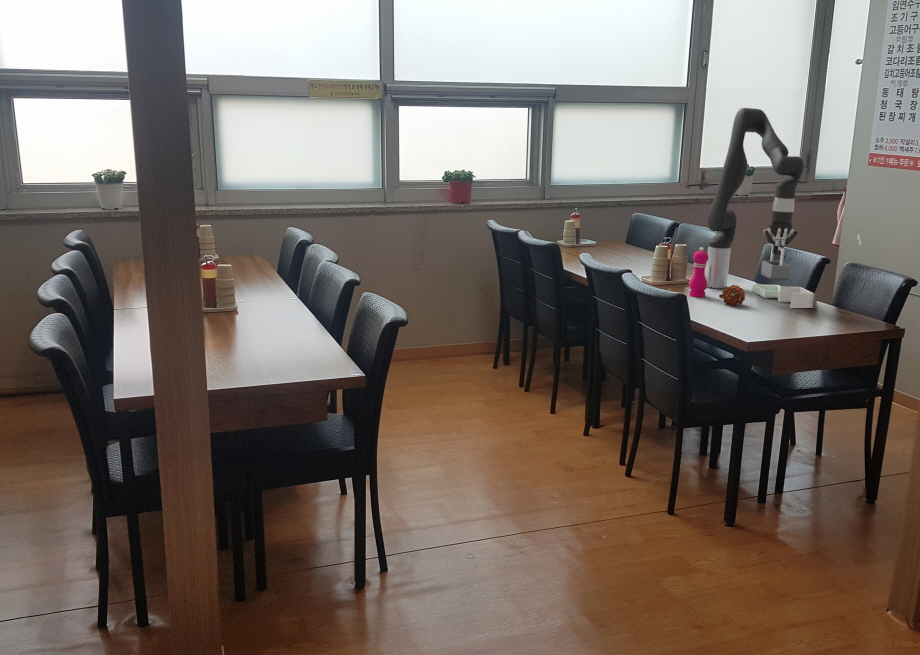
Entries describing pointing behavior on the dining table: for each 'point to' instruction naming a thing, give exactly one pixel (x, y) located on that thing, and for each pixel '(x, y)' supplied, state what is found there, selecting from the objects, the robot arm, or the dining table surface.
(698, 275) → the pepper mill
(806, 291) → the bay
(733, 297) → the brown scaly oval lump
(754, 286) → the tray
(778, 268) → the caddy
